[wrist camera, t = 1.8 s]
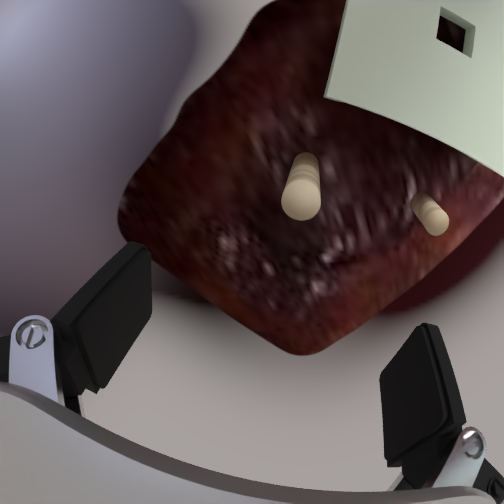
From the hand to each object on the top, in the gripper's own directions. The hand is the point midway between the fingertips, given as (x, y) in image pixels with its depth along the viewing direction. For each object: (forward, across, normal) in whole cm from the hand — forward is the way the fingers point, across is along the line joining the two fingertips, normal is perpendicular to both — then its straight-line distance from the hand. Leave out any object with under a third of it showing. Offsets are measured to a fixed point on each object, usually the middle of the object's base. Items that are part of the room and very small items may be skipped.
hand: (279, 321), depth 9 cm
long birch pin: (+22, 0, 0) cm, 22 cm away
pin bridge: (+21, -9, -17) cm, 29 cm away
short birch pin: (+22, -13, 0) cm, 25 cm away
